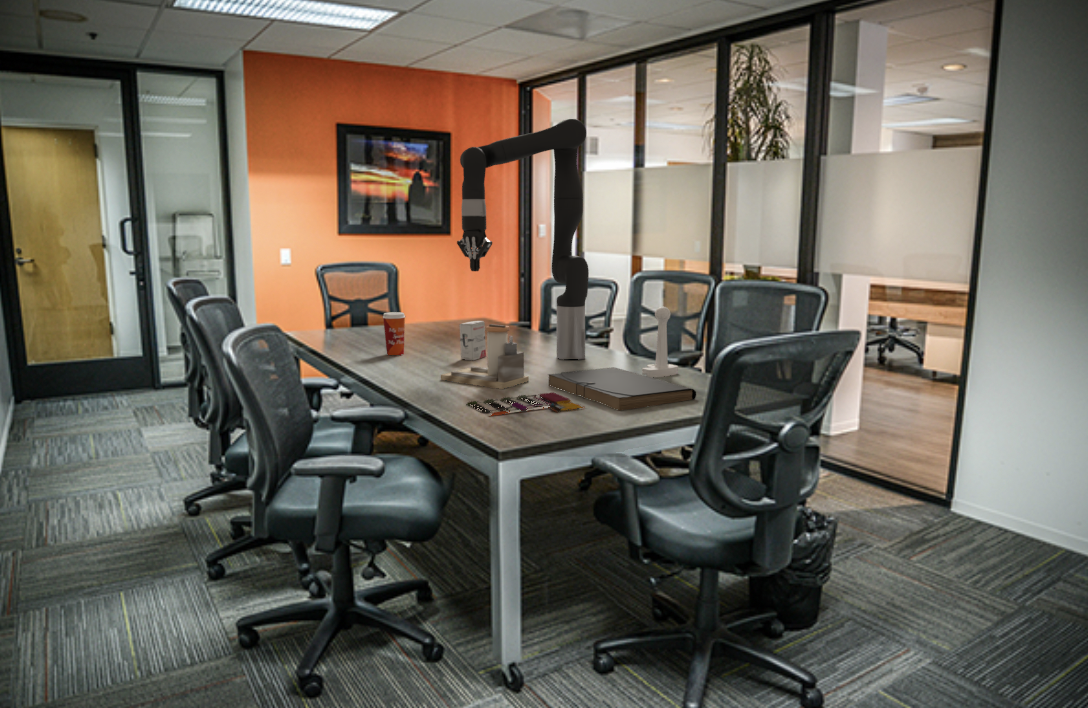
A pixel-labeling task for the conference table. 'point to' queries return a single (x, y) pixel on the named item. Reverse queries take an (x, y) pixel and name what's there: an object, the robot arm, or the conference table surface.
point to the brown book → (620, 388)
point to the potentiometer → (510, 347)
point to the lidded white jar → (495, 346)
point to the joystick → (661, 348)
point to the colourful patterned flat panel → (550, 397)
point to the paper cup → (394, 332)
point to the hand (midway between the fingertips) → (475, 271)
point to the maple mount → (507, 376)
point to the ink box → (472, 340)
